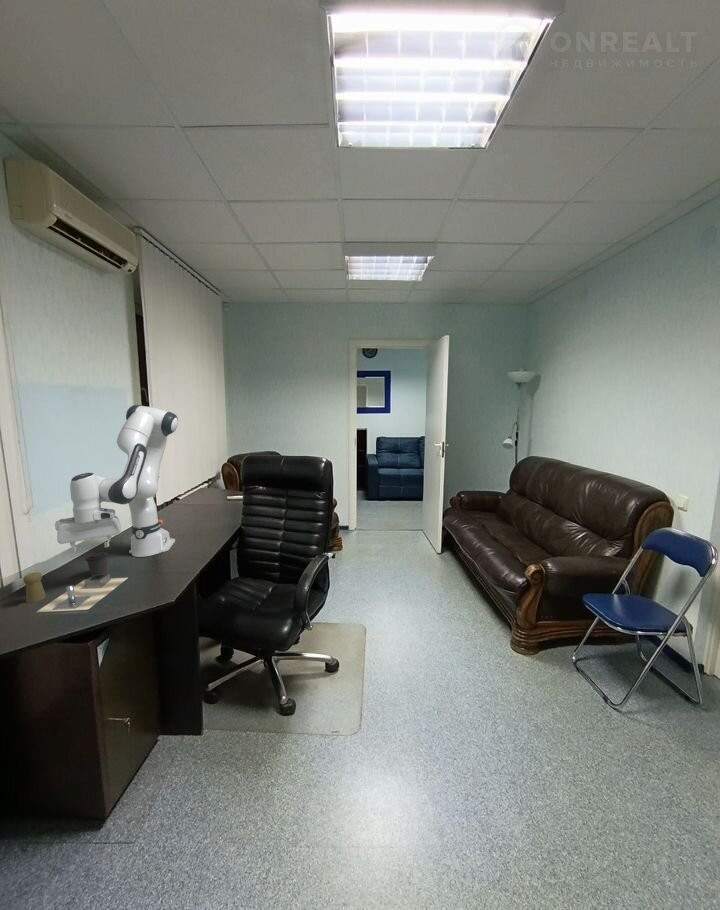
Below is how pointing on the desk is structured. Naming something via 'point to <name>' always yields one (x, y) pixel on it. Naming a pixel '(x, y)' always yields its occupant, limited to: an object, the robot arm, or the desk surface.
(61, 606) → the post
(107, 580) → the link
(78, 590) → the board
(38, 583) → the cork
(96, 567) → the coffee cup
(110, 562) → the desk surface
